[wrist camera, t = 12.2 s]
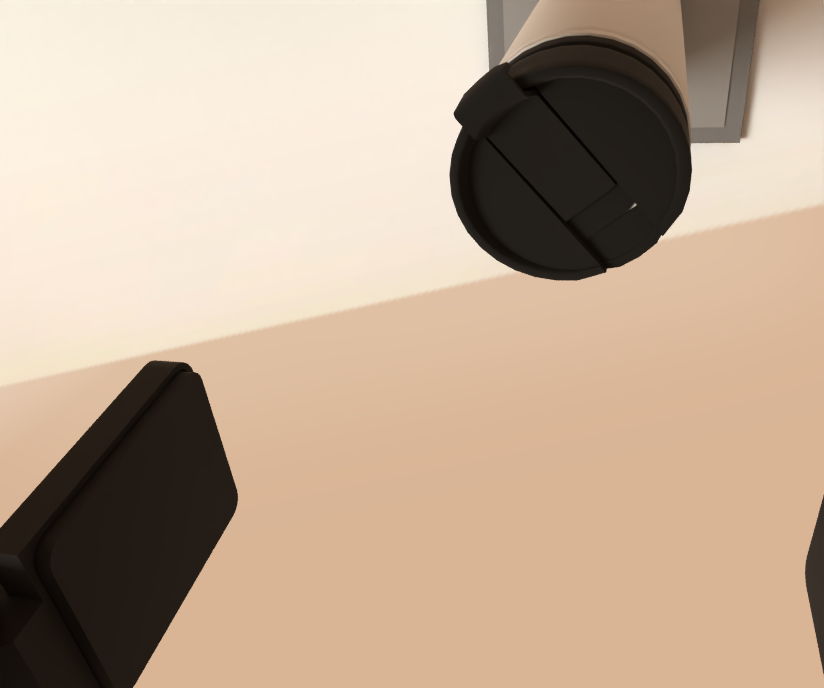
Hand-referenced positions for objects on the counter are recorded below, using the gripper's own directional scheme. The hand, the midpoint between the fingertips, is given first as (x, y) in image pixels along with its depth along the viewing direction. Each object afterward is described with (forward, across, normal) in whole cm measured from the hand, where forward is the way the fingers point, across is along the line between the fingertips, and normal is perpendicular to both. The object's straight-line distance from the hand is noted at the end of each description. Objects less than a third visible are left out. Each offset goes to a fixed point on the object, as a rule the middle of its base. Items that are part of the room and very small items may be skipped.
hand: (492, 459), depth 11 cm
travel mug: (+30, 0, 0) cm, 30 cm away
